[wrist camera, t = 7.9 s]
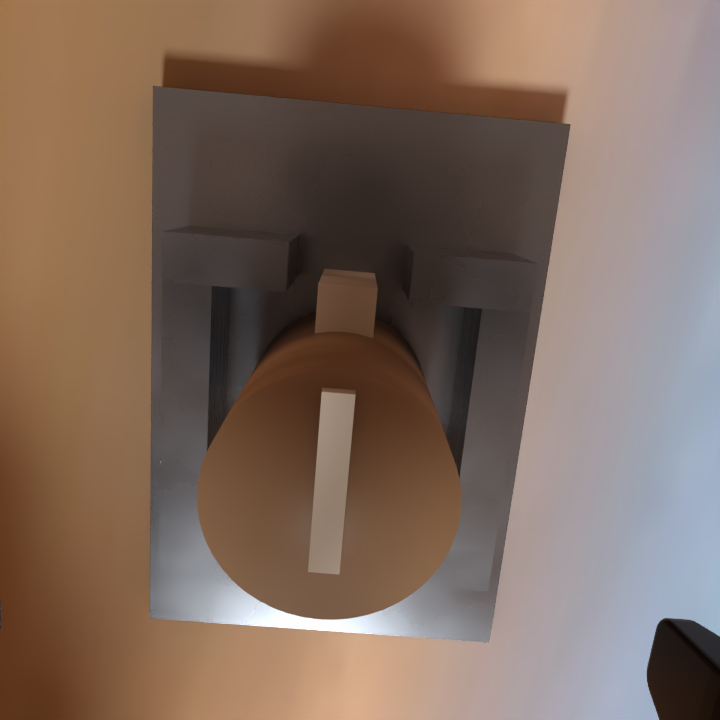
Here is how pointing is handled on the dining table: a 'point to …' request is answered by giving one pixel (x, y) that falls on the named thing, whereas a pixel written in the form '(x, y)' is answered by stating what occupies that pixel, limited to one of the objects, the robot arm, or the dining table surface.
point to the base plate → (299, 298)
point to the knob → (332, 466)
